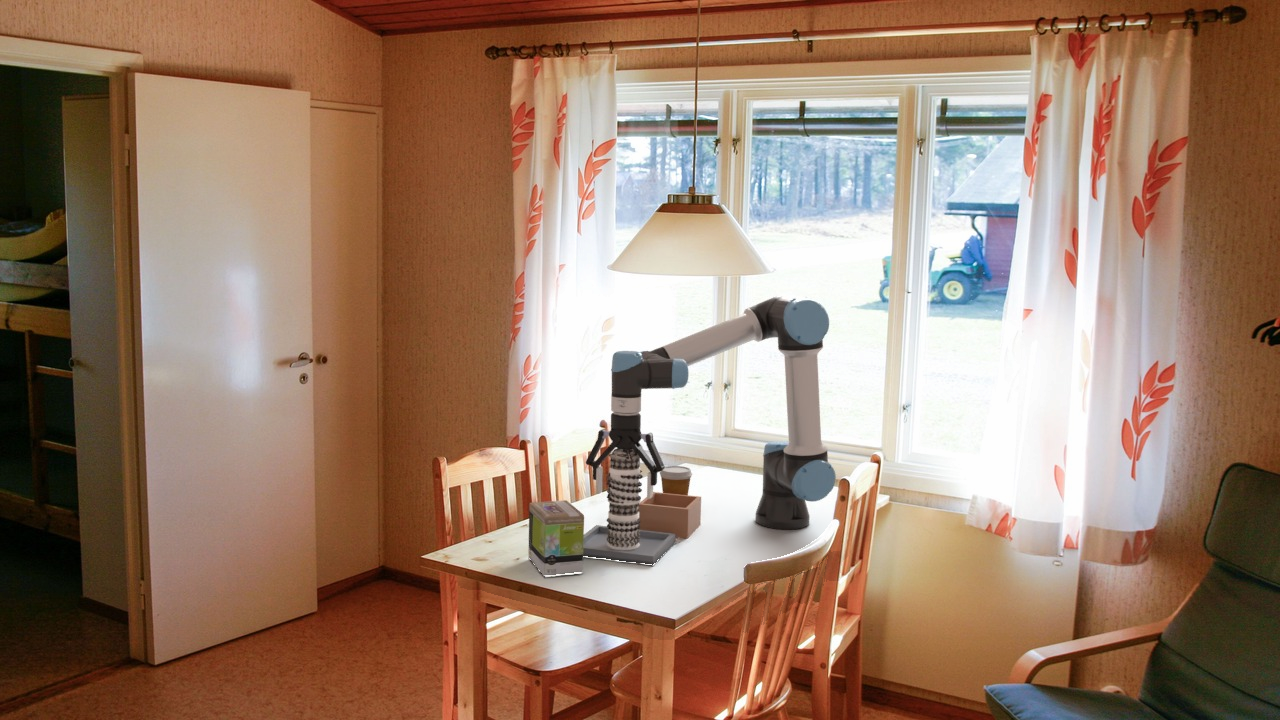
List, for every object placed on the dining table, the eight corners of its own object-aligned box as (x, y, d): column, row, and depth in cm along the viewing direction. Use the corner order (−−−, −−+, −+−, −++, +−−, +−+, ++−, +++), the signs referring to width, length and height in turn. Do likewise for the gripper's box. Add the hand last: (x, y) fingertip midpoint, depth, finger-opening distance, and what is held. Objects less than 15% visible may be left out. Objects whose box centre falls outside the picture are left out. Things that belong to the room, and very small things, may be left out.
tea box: (584, 575, 246) (585, 514, 244) (543, 579, 242) (543, 517, 240) (566, 555, 260) (567, 498, 258) (527, 559, 256) (527, 501, 254)
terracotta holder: (700, 524, 289) (701, 496, 288) (687, 538, 276) (688, 509, 275) (652, 519, 293) (653, 491, 292) (637, 533, 280) (637, 504, 279)
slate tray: (675, 543, 272) (675, 533, 272) (653, 566, 253) (653, 556, 253) (596, 534, 278) (596, 525, 278) (568, 555, 260) (569, 546, 259)
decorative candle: (646, 542, 268) (648, 447, 265) (633, 552, 260) (635, 454, 257) (613, 538, 272) (615, 444, 268) (599, 548, 263) (601, 451, 260)
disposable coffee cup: (692, 505, 309) (693, 466, 308) (690, 514, 300) (691, 473, 298) (660, 504, 310) (661, 464, 309) (657, 512, 301) (658, 472, 299)
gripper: (574, 411, 261) (573, 493, 264) (669, 418, 254) (667, 503, 257) (584, 406, 268) (583, 487, 271) (677, 413, 261) (675, 496, 264)
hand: (624, 495), depth 264 cm, fingers open, 13 cm apart
